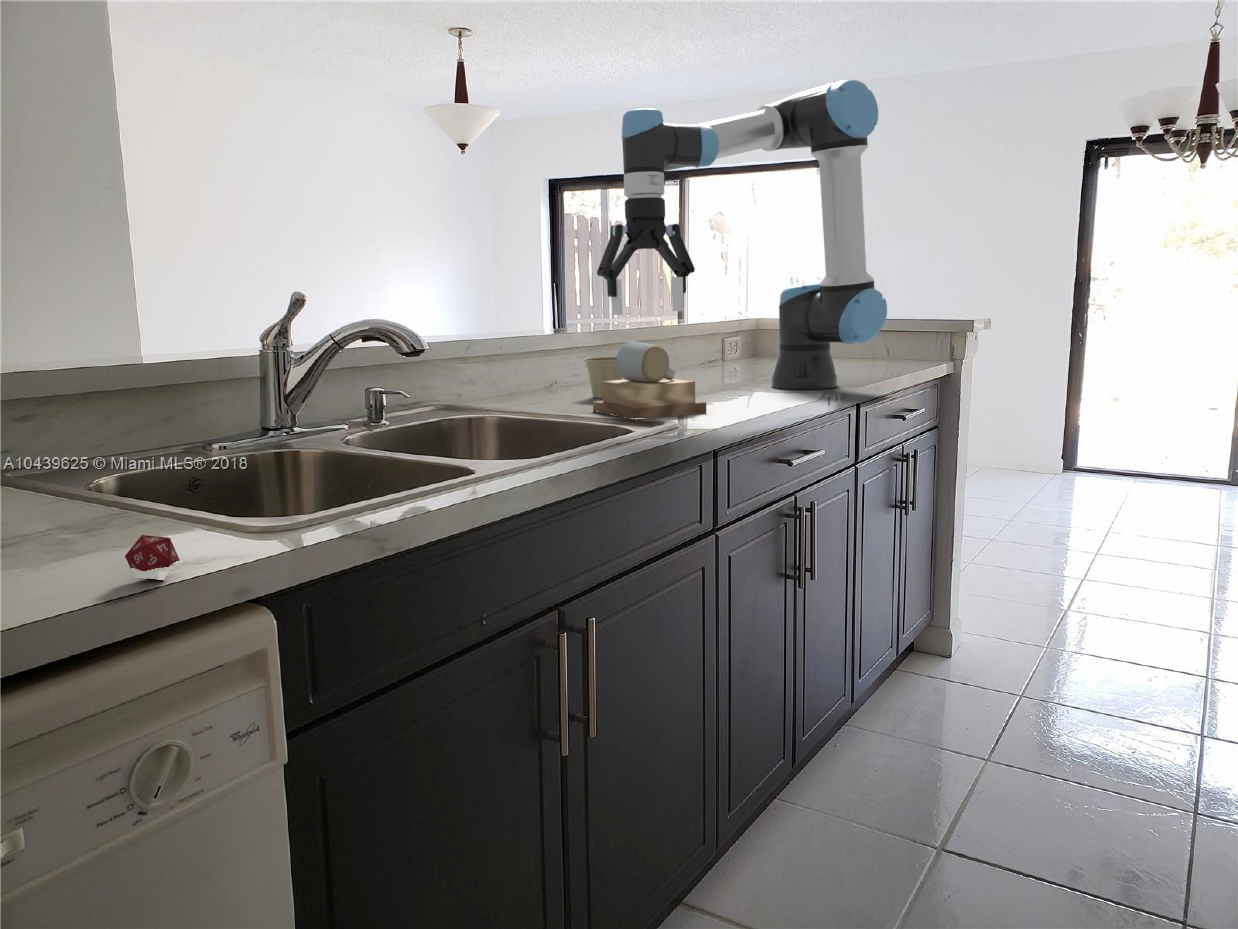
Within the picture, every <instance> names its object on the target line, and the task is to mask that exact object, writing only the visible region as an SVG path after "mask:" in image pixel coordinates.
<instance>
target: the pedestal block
mask: <svg viewBox="0 0 1238 929" xmlns="http://www.w3.org/2000/svg"><path fill="white" fill-rule="evenodd" d="M602 399H603V400H602V401H603V402H608V403H613V404H618V405H624V406H629V407H634V408H643V407H653V406H663V405H673V404H683V403H693V402H695V401H696V381H694V380H687V379H686V380H685V379H678V378H673V379H665V378H663V379H662V380H660V381H658V382H653V383H647V382H637V381H629V380H626V379H622V380H613V381H603V398H602Z"/></svg>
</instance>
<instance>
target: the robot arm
mask: <svg viewBox="0 0 1238 929" xmlns="http://www.w3.org/2000/svg"><path fill="white" fill-rule="evenodd" d="M664 121H665V120H664V118H663V112H662V111H661V110H659V109H655V108H636V109H632V110H628V111H627V112H625V113H624V114H623V116H622V124H621V139H622V143H621V144H622V157H623V158H622V160H623V162H622V163H623V164H622V165H623V194H624V195H623V196H624V197H626V198H627V199H625V201H624V218H625V222H626V223H625V225H623V224H621V223H618V224H612V225H611V227H610V234H609V235H610V237H609V239H608V242H607V245H606V247H605V250H604V253H603V256H602V258H601V261H600V262H599V266H598V269H597V272H596V275H597V276H599V277H602V278H604V279H605V280H606V286H607V287H606V288H607V296H608V298H609V297H610V298H611V315H612V316H623V315H624V314H623V286H622V285H623V284H622V279H620V278H618V277H619V275H620V274H621V272H622V271H623V270H624V268H625V266H626V265H627V264H628V262H629V260H630V259H631V258H632V256H633V255H634V253H635V252H636V251H637V250H643V249H645V250H646V249H647V250H651V249H654V250H655V251H656V252H658V253H659V255H660V256H661V257H662V259H663V261H664V262H665V263H666V264H667V265H668V267H669V268H670V270H671V271H672V273H673V274H674V275H675V276H671V293H672V294H671V295H672V298H671V300H672V312H684V294H686V292H687V280H686V279H687V277H689V275H690V274H692V273H694V272H695V270H696V269H695V266H694V264H693V261H692V259H691V256H690V254H689V252H688V249H687V247H686V245H685V243H684V241H683V238H682V236H681V229H680V225H679V224H678V223H671V224H668V225H666V223H665V218H666V199H665V198H663V197H662V196H664V195H665V174H664V173H665V172H667V171H673V170H677V169H683V168H687V167H688V168H689V167H690V168H691V167H692V168H700V167H702V168H703V167H709V166H711V165H713V163H714V162H715V161H716V159H722V158H726V157H730V156H734V155H738V154H742V153H747V152H752V151H757V150H760V149H762V150H763V151H766V152H772V151H773V152H774V151H778V150H785V149H786V150H788V149H800V148H802V149H803V148H810V155H811V156H812V157H814V158H815V159H816V160H817V162H818V164H819V183H820V198H821V215H822V232H823V246H824V248H823V249H824V266H825V276H824V278H823V279H822V280H821V281H820V282H819V283H816V284H815V283H813V284H805V285H797V286H792V287H788V288H785V289H783V290H782V292H781V293H780V295H779V296H780V298H779V305H778V310H779V311H778V312H779V313H778V315H779V316H778V318H779V321H778V322H779V323H778V324H779V327H778V328H779V333H778V334H779V336H778V338H779V339H778V340H779V354H778V357H777V360H776V363H775V366H774V371H773V374H772V375H771V376H772V377H771V387H773V388H777V389H786V390H817V389H818V390H819V389H830V388H836V387H837V386H838V375H837V374H836V369H835V365H834V361H833V358H832V355H831V343H840V344H848V345H854V344H855V345H856V344H866V343H868V342H870V341H873V340H874V339H875V338H876V337H877V336H878V335H879V334H880V331H882V329H884V326H885V324H886V322H887V321H886V320H887V316H888V315H887V314H888V304H887V301H886V297H883V293H882V292H880V291H879V290H877V289H876V288H875V278H874V277H873V276H872V275H871V274H869V273H868V271H867V258H866V238H865V236H866V235H865V219H864V218H865V216H864V197H863V181H862V179H863V177H862V175H863V174H862V158H861V157H862V155H863V153H864V152H865V151H866V150H867V148H868V137H869V136H870V135H871V134H872V133H873V132H874V130H875V129H876V126H877V124H878V122H879V107H878V102H877V100H876V97H875V94H874V93H873V91H872V90H871V89H869V88H868V86H867V85H866V84H865V83H863V82H862V81H860V80H857V79H845V80H839V81H833V82H831V83H827V84H825V85H821V86H818V87H814V88H810V89H807V90H803V91H800V92H798V93H795V94H793V95H790V96H788V97H785V98H783V99H781V100H778V101H775V102H772V103H769V104H765V105H761V106H759V107H758V108H757V109H756V111H755V112H750V113H745V114H741V115H735V116H731V117H727V118H721V119H716V120H711V121H707V122H703V123H698V124H684V123H683V124H681V123H680V124H679V123H666V122H664ZM665 235H666V236H667V238H668V240H669V242H670V245H671V247H672V249H671V248H670V246H669V243H668V242H667V240H666V239H665V238H664V237H665ZM625 236H626V237H627V240H626V242H625V243H624V245H623V248H622V250H621V251H620V252H619V254H618V255H617V253H618V251H619V248H620V245H621V243H622V239H623V237H625ZM673 251H674V252H673ZM616 256H617V257H616ZM615 258H616V259H615ZM617 278H618V279H617Z"/></svg>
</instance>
